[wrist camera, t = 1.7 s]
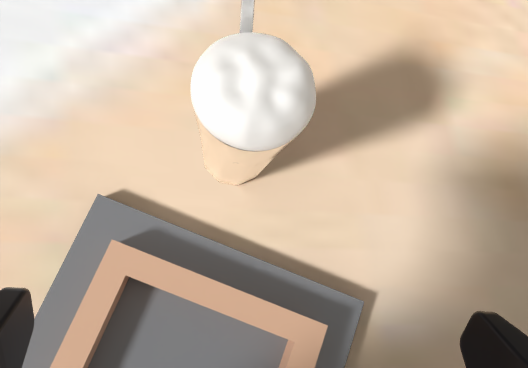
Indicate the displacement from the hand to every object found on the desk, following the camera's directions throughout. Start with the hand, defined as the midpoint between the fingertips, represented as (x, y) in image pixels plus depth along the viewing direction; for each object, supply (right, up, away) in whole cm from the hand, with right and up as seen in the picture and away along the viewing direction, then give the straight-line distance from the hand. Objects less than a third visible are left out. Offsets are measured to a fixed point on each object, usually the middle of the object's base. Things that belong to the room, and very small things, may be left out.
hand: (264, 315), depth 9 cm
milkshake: (-2, +4, +15) cm, 16 cm away
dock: (-4, -7, +12) cm, 14 cm away
